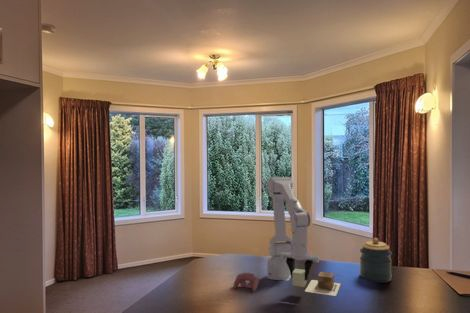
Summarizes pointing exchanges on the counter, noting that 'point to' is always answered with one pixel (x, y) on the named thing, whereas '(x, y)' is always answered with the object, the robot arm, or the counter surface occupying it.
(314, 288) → the cream square tray
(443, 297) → the counter surface
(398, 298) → the counter surface
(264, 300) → the counter surface
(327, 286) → the walnut block
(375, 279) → the canister
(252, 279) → the video game controller
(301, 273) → the sage block
